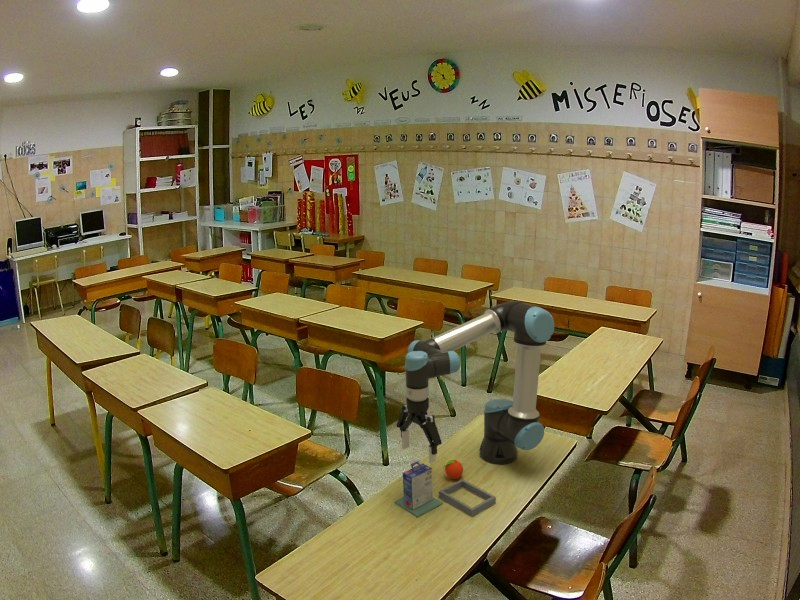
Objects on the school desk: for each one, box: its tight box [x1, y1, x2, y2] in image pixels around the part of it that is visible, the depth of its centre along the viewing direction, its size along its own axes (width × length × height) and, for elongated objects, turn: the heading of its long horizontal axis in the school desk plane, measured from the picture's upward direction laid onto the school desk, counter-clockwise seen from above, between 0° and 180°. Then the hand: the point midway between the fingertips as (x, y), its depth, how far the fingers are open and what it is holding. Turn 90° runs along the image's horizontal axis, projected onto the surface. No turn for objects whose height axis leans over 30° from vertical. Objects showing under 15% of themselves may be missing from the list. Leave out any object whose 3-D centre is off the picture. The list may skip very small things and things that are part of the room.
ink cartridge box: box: [402, 460, 434, 510], centre depth 213 cm, size 10×6×14 cm, turn 130°
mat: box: [394, 496, 444, 518], centre depth 214 cm, size 12×12×1 cm
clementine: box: [442, 459, 464, 480], centre depth 230 cm, size 8×7×7 cm
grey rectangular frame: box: [438, 478, 497, 518], centre depth 216 cm, size 12×16×2 cm
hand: (418, 454), depth 210 cm, fingers open, 13 cm apart
